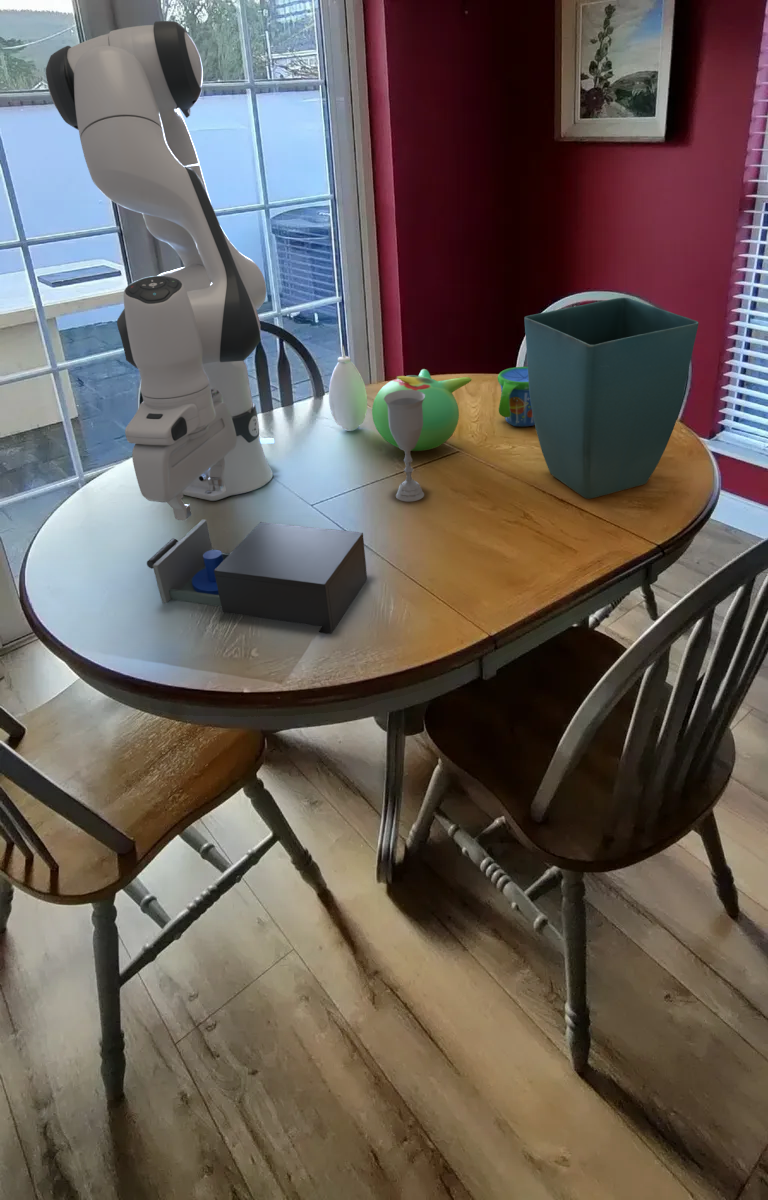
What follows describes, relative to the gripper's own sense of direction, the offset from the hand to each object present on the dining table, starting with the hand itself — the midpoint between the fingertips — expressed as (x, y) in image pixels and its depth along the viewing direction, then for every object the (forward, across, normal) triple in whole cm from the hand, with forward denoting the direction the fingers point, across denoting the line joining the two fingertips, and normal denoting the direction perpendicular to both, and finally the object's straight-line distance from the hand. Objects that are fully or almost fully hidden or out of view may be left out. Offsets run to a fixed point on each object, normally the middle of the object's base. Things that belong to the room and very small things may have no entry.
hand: (201, 503), depth 117 cm
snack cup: (+15, -74, +31) cm, 82 cm away
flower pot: (+15, -48, +50) cm, 71 cm away
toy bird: (+14, -58, +13) cm, 62 cm away
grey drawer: (+14, 0, +1) cm, 14 cm away
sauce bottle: (+14, -64, -4) cm, 66 cm away
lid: (+13, 0, 0) cm, 13 cm away
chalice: (+15, -36, +18) cm, 43 cm away
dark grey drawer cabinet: (+15, 0, +13) cm, 19 cm away
